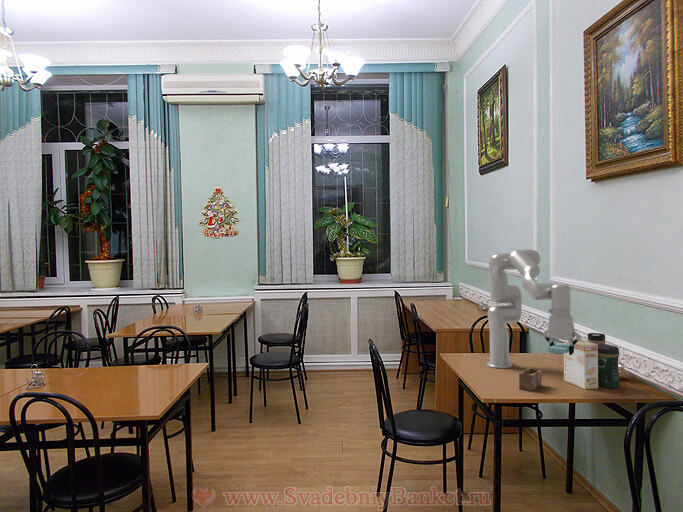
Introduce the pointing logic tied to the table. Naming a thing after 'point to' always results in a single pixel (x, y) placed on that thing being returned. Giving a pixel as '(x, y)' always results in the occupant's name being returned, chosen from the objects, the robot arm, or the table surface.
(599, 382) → the coffee jar
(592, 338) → the travel mug
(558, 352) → the lid
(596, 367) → the coffeecake box
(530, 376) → the tea box
